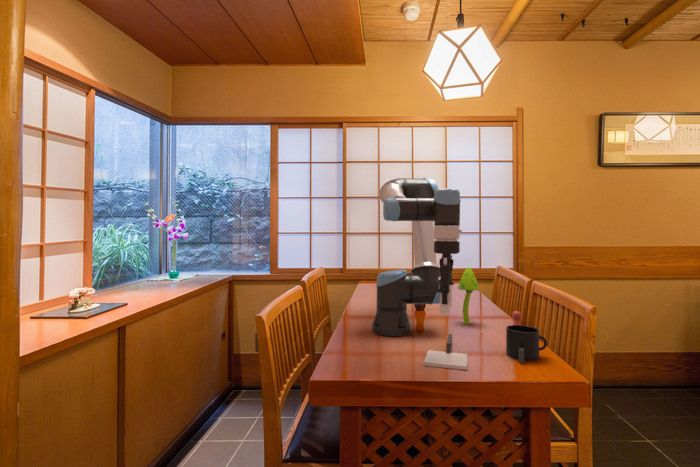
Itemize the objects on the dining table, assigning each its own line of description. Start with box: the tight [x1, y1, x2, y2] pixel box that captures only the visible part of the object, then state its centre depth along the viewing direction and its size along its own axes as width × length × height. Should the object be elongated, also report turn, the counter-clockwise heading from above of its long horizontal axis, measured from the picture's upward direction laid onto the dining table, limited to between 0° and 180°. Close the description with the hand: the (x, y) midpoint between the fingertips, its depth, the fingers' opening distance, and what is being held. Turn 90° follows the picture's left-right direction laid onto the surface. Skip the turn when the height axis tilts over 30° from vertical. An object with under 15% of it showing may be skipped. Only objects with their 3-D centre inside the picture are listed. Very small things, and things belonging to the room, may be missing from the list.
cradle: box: [446, 310, 525, 365], centre depth 121 cm, size 23×15×13 cm, turn 72°
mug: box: [505, 324, 548, 362], centre depth 118 cm, size 9×12×9 cm
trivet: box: [423, 349, 468, 371], centre depth 113 cm, size 12×12×1 cm
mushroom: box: [457, 266, 480, 325], centre depth 155 cm, size 8×8×25 cm
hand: (446, 310), depth 113 cm, fingers open, 13 cm apart
